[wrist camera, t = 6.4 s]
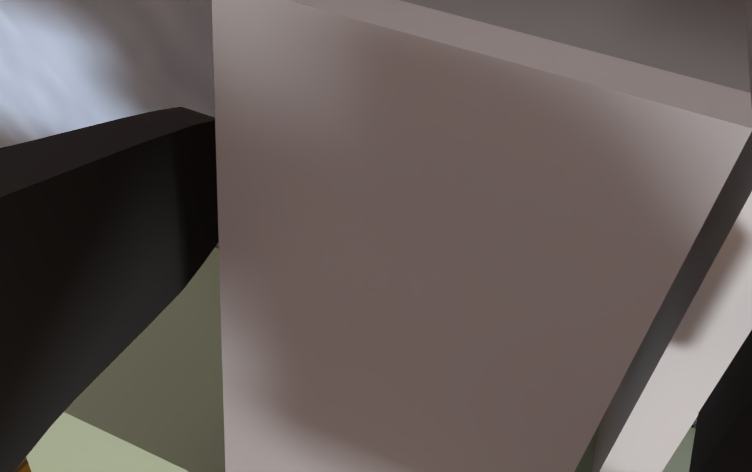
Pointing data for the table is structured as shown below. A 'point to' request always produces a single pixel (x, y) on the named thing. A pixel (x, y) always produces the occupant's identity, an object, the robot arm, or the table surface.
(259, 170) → the grey rectangular block
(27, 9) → the table surface
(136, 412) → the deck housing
